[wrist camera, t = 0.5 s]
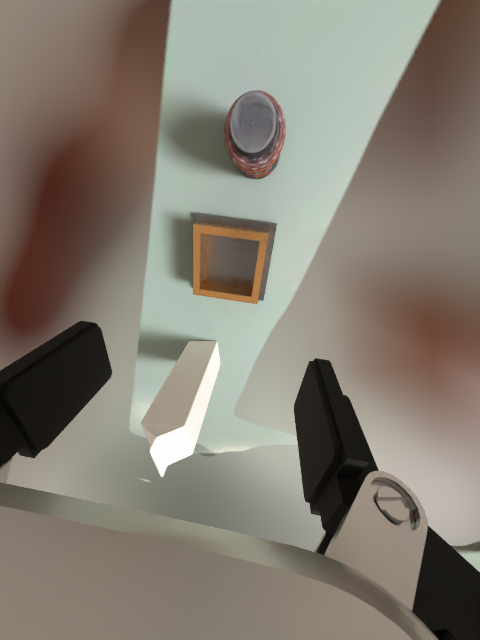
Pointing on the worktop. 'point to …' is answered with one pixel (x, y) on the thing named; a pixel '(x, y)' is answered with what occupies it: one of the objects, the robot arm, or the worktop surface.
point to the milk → (182, 404)
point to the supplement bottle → (255, 133)
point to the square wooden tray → (231, 257)
